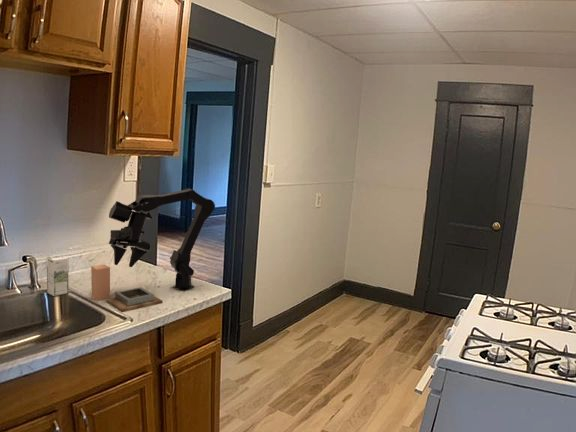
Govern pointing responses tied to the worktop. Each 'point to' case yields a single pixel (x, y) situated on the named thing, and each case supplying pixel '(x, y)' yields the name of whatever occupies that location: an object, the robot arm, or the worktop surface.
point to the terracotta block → (100, 282)
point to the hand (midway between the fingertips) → (122, 265)
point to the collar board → (133, 299)
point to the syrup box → (57, 275)
